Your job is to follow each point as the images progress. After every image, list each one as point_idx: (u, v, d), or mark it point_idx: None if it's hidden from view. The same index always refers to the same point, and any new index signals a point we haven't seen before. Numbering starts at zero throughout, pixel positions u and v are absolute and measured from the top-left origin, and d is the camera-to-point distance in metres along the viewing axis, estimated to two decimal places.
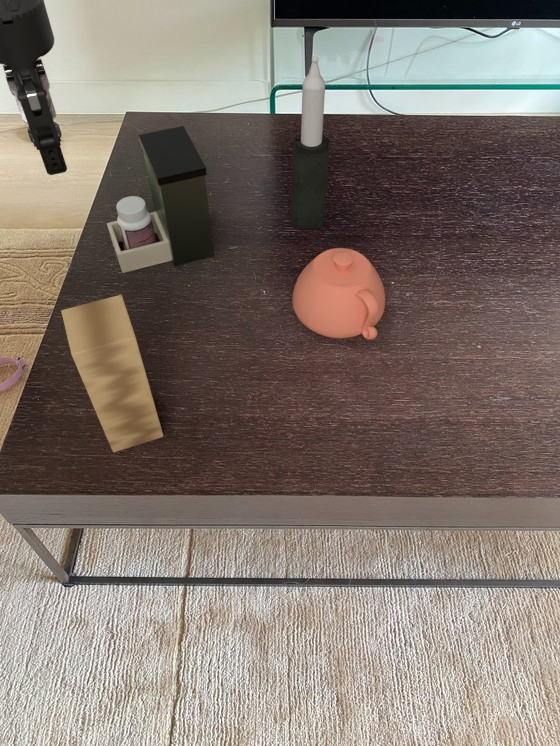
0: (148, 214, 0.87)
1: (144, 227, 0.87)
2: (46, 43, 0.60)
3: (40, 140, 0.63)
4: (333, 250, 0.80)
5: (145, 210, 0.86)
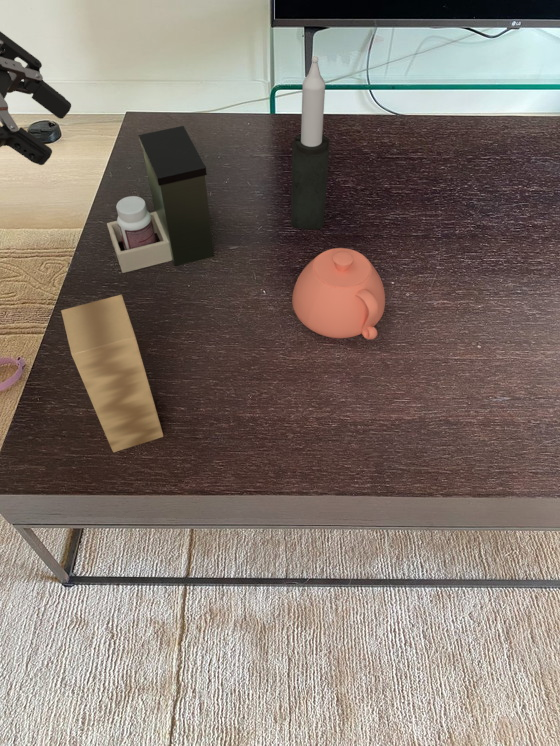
0: (148, 214, 0.87)
1: (144, 227, 0.87)
2: None
3: None
4: (333, 250, 0.80)
5: (145, 210, 0.86)
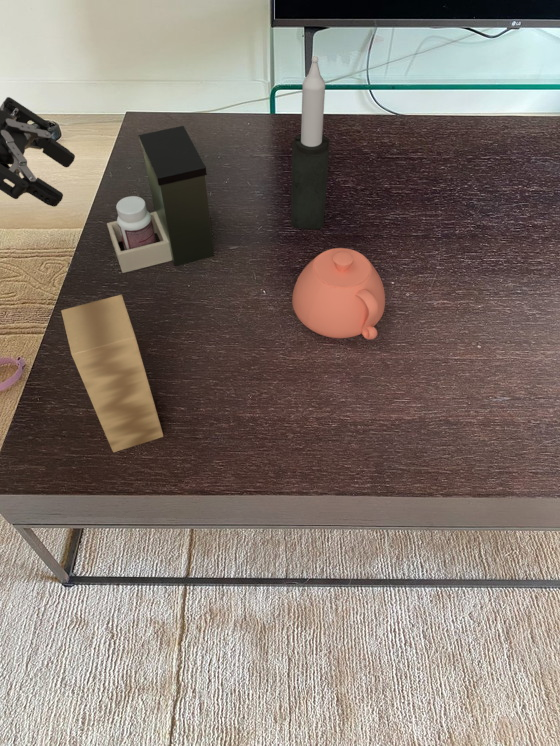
0: (148, 214, 0.87)
1: (144, 227, 0.87)
2: None
3: None
4: (333, 250, 0.80)
5: (145, 210, 0.86)
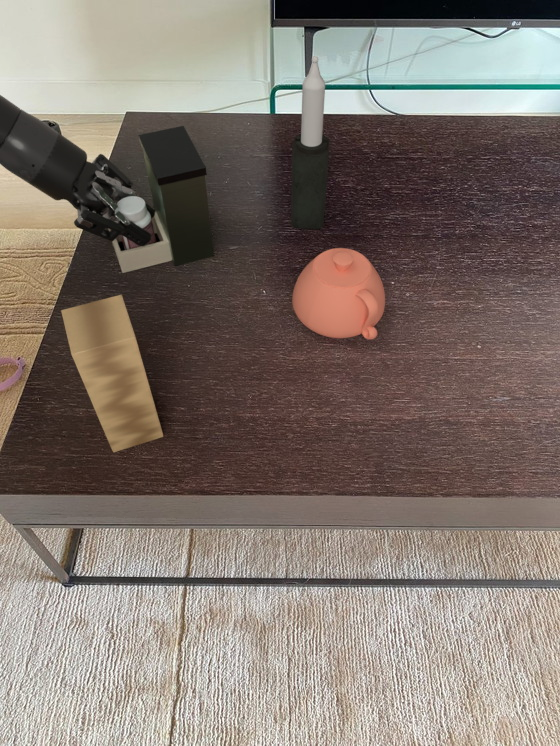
0: (148, 214, 0.87)
1: (144, 227, 0.87)
2: None
3: None
4: (333, 250, 0.80)
5: (145, 210, 0.86)
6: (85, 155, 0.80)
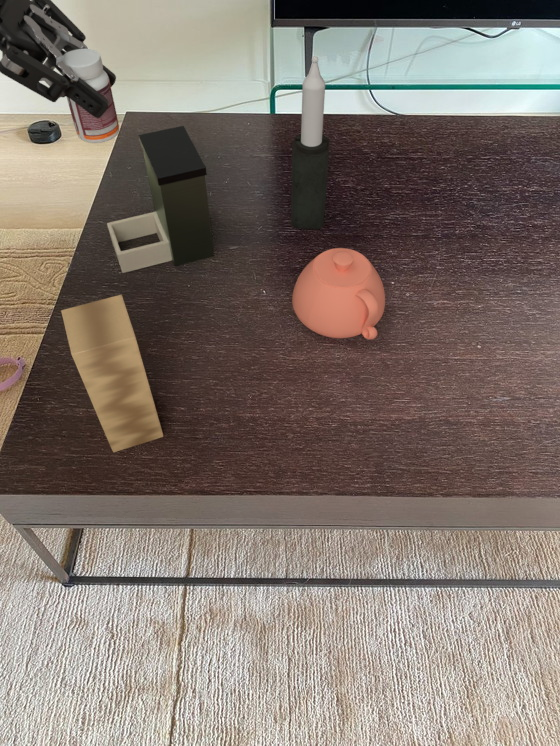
0: (105, 74, 0.65)
1: (99, 91, 0.64)
2: None
3: None
4: (333, 250, 0.80)
5: (100, 65, 0.64)
6: None
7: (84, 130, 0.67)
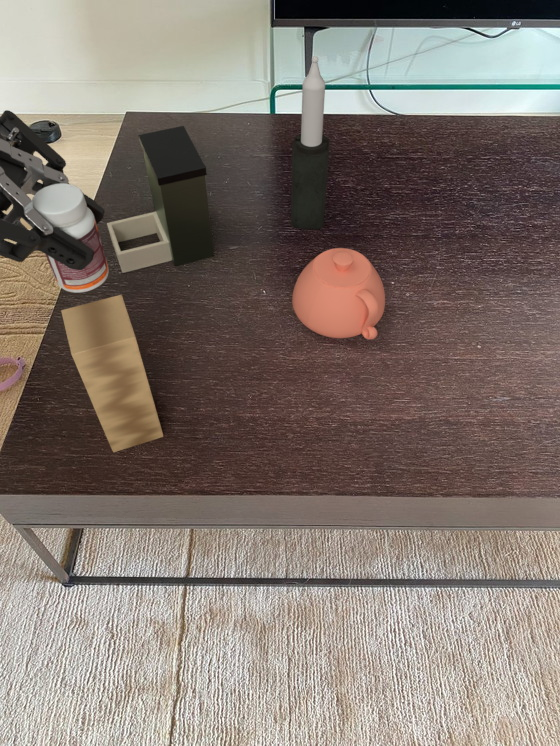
0: (90, 215, 0.51)
1: (82, 238, 0.50)
2: None
3: None
4: (333, 250, 0.80)
5: (83, 208, 0.49)
6: None
7: (63, 279, 0.53)
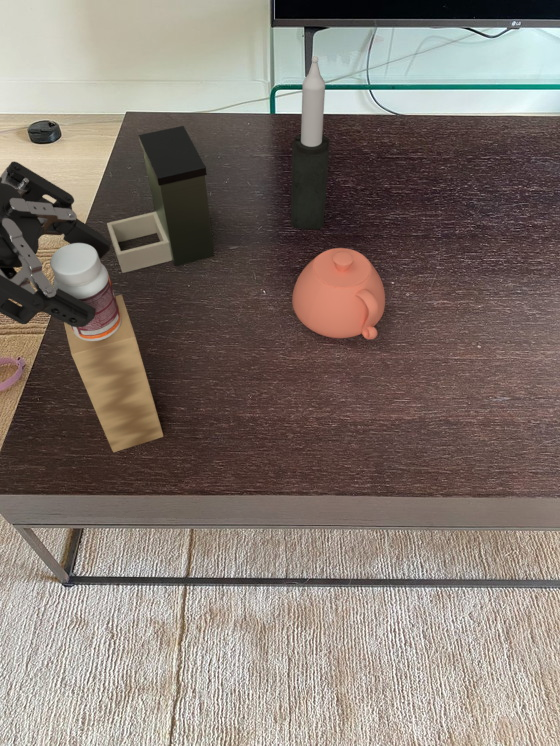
0: (104, 272, 0.54)
1: (97, 294, 0.54)
2: None
3: None
4: (333, 250, 0.80)
5: (97, 267, 0.53)
6: None
7: (79, 330, 0.57)
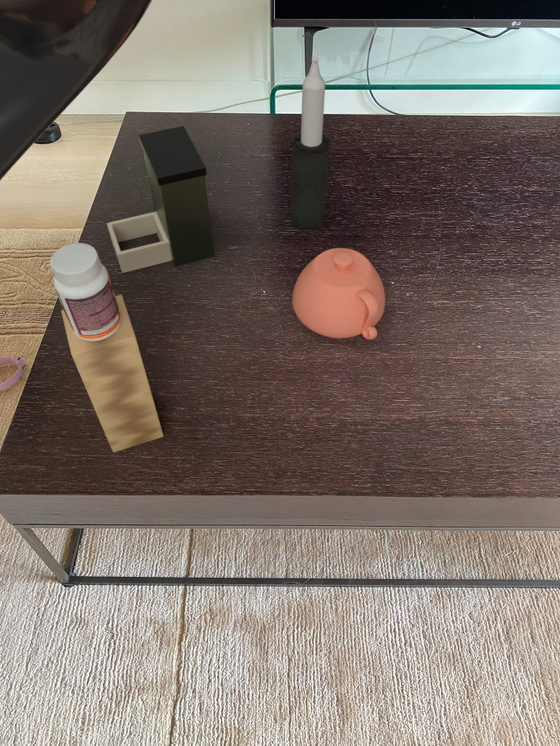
0: (104, 272, 0.54)
1: (97, 294, 0.54)
2: None
3: None
4: (333, 250, 0.80)
5: (97, 267, 0.53)
6: None
7: (79, 330, 0.57)
